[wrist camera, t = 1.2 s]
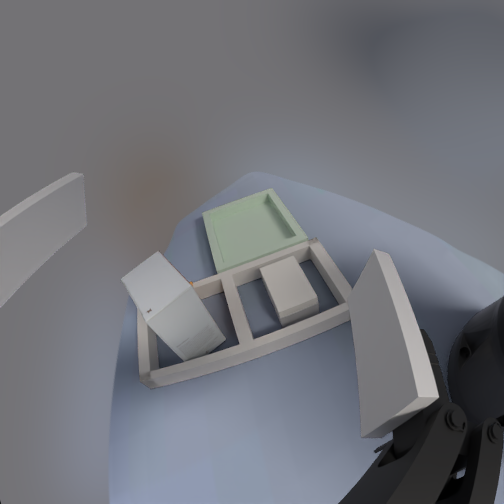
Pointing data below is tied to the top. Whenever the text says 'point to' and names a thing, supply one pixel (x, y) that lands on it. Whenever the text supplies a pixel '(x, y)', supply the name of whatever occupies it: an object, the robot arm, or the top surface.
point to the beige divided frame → (247, 343)
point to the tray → (250, 229)
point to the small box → (172, 308)
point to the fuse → (289, 291)
